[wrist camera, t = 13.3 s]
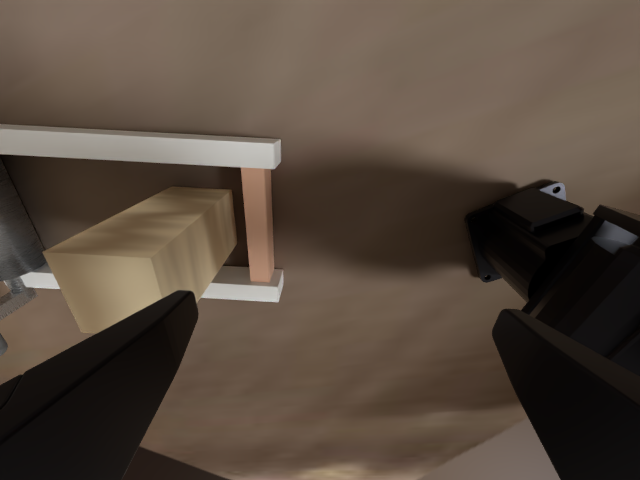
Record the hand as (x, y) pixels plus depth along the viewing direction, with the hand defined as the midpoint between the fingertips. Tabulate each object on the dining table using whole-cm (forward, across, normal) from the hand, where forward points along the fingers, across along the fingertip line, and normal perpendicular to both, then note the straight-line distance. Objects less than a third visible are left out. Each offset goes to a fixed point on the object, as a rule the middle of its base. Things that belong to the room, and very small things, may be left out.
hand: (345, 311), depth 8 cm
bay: (+13, +16, +4) cm, 21 cm away
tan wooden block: (+13, +10, +3) cm, 17 cm away
